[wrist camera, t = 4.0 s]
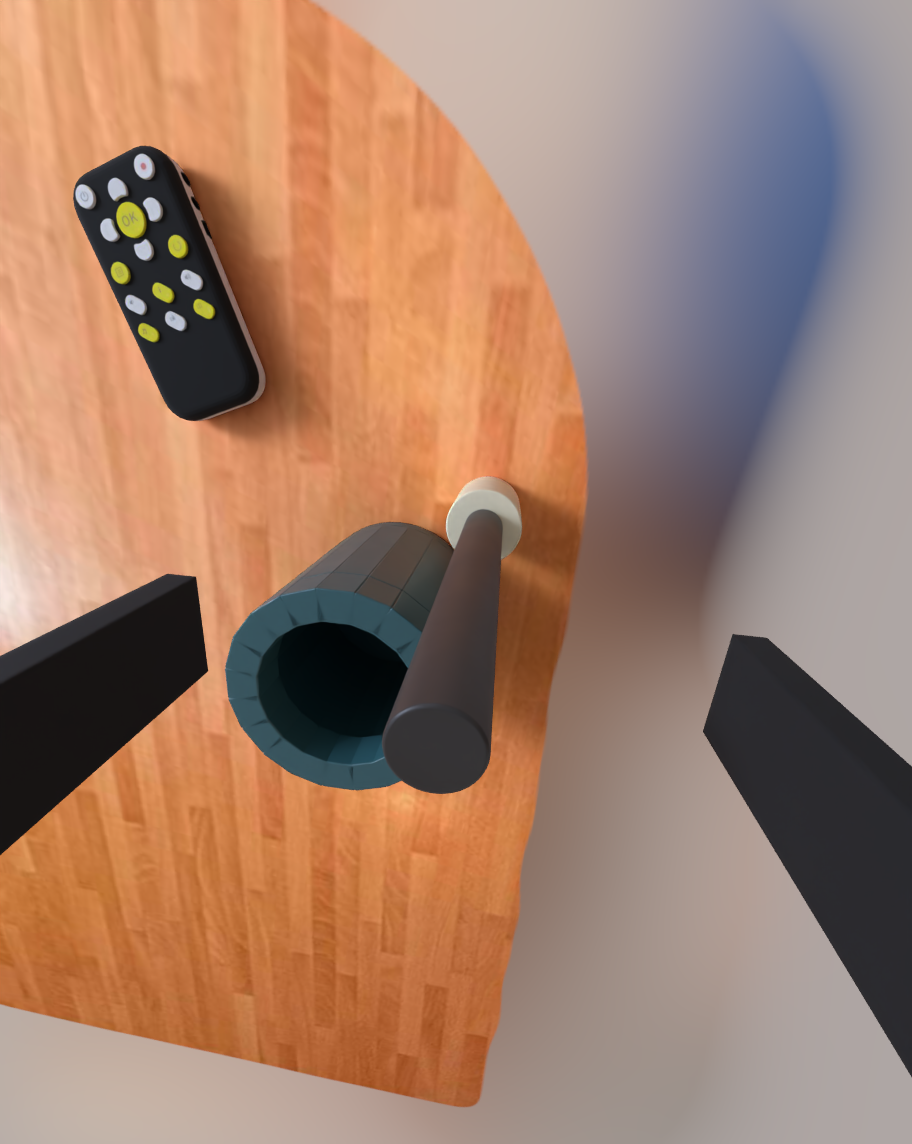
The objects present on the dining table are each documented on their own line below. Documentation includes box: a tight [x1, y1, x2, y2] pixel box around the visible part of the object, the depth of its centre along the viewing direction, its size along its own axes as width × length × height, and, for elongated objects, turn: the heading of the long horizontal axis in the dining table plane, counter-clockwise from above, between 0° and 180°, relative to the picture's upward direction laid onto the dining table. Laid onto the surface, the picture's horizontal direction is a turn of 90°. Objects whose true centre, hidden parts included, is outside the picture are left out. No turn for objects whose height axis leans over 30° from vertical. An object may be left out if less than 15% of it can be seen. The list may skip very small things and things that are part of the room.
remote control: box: [73, 146, 266, 421], centre depth 26 cm, size 6×13×2 cm, turn 17°
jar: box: [225, 522, 454, 790], centre depth 26 cm, size 10×10×12 cm
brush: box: [382, 476, 522, 794], centre depth 19 cm, size 4×4×22 cm
